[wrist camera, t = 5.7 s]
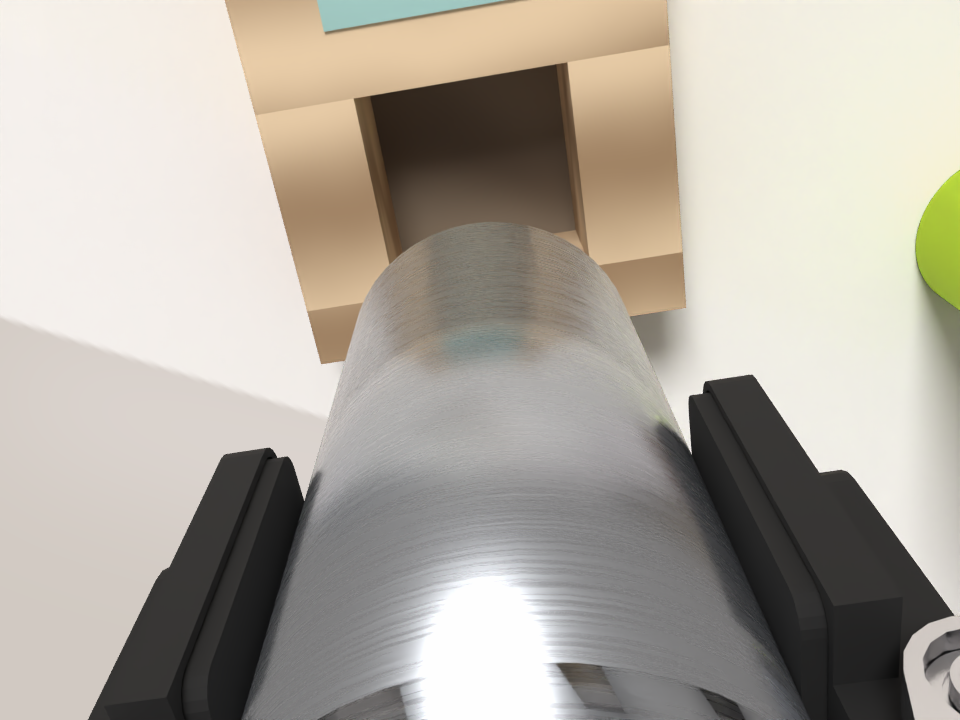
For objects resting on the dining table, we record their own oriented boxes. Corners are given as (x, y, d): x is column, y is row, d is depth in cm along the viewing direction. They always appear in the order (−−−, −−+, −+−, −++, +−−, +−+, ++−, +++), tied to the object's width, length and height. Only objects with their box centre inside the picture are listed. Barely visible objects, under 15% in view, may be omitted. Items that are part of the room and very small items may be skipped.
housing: (660, 266, 32) (687, 308, 28) (336, 317, 32) (320, 365, 29) (614, -346, 24) (642, -399, 20) (191, -264, 25) (143, -301, 21)
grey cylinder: (643, 454, 16) (882, 1131, 7) (384, 493, 16) (282, 1190, 7) (618, 200, 14) (909, 674, 5) (322, 248, 14) (71, 784, 5)
